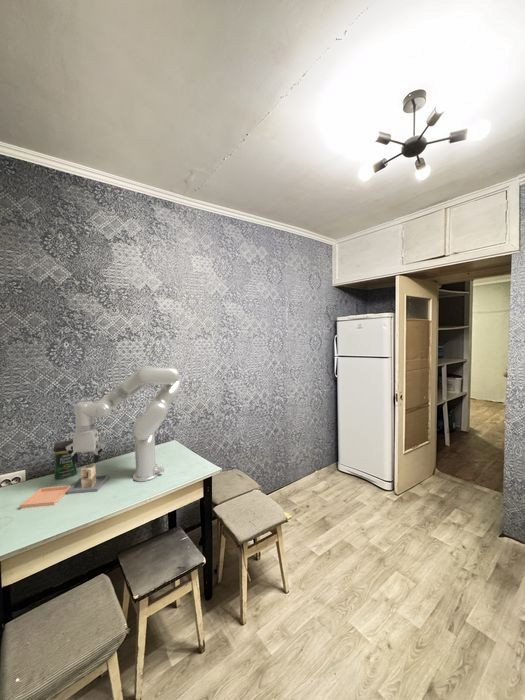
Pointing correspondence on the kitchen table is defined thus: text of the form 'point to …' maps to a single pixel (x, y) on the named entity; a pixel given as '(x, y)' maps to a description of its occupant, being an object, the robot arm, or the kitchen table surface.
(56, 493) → the terracotta dish
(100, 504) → the kitchen table surface
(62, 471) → the coffee jar
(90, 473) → the notched wooden block
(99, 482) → the charcoal tray
